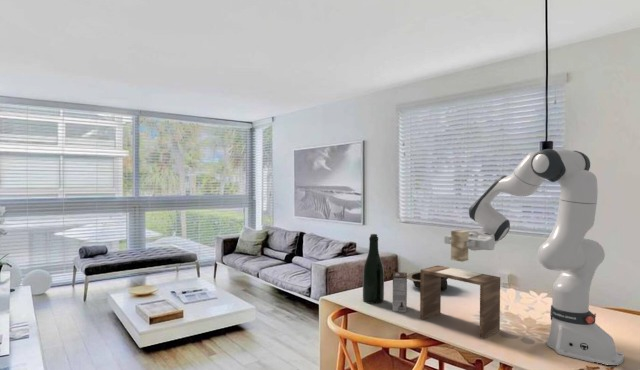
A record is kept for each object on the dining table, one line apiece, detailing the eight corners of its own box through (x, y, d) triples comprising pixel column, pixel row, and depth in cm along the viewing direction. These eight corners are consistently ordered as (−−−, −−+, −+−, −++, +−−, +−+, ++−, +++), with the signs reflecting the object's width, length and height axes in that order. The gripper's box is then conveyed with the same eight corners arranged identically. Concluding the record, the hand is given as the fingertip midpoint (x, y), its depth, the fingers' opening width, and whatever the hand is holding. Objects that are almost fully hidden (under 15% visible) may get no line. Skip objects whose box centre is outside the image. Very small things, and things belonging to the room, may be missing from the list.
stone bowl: (462, 288, 218) (461, 272, 217) (431, 299, 203) (431, 282, 203) (426, 278, 238) (426, 263, 237) (396, 287, 224) (396, 271, 223)
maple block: (468, 260, 164) (468, 231, 164) (462, 261, 161) (462, 232, 160) (457, 258, 168) (457, 230, 167) (450, 259, 164) (451, 230, 164)
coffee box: (392, 305, 189) (393, 271, 188) (406, 306, 187) (406, 272, 187) (392, 311, 180) (392, 276, 179) (406, 312, 178) (407, 277, 178)
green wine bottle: (360, 302, 192) (361, 235, 191) (364, 296, 202) (364, 232, 201) (382, 304, 189) (383, 235, 189) (385, 298, 199) (385, 233, 199)
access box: (499, 329, 158) (500, 276, 158) (483, 338, 149) (484, 282, 149) (437, 311, 179) (437, 264, 179) (420, 318, 170) (420, 269, 170)
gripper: (453, 230, 180) (436, 233, 171) (498, 235, 165) (482, 238, 156) (453, 244, 180) (436, 247, 171) (497, 250, 165) (482, 254, 156)
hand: (458, 243), depth 163 cm, fingers closed on maple block, 5 cm apart
